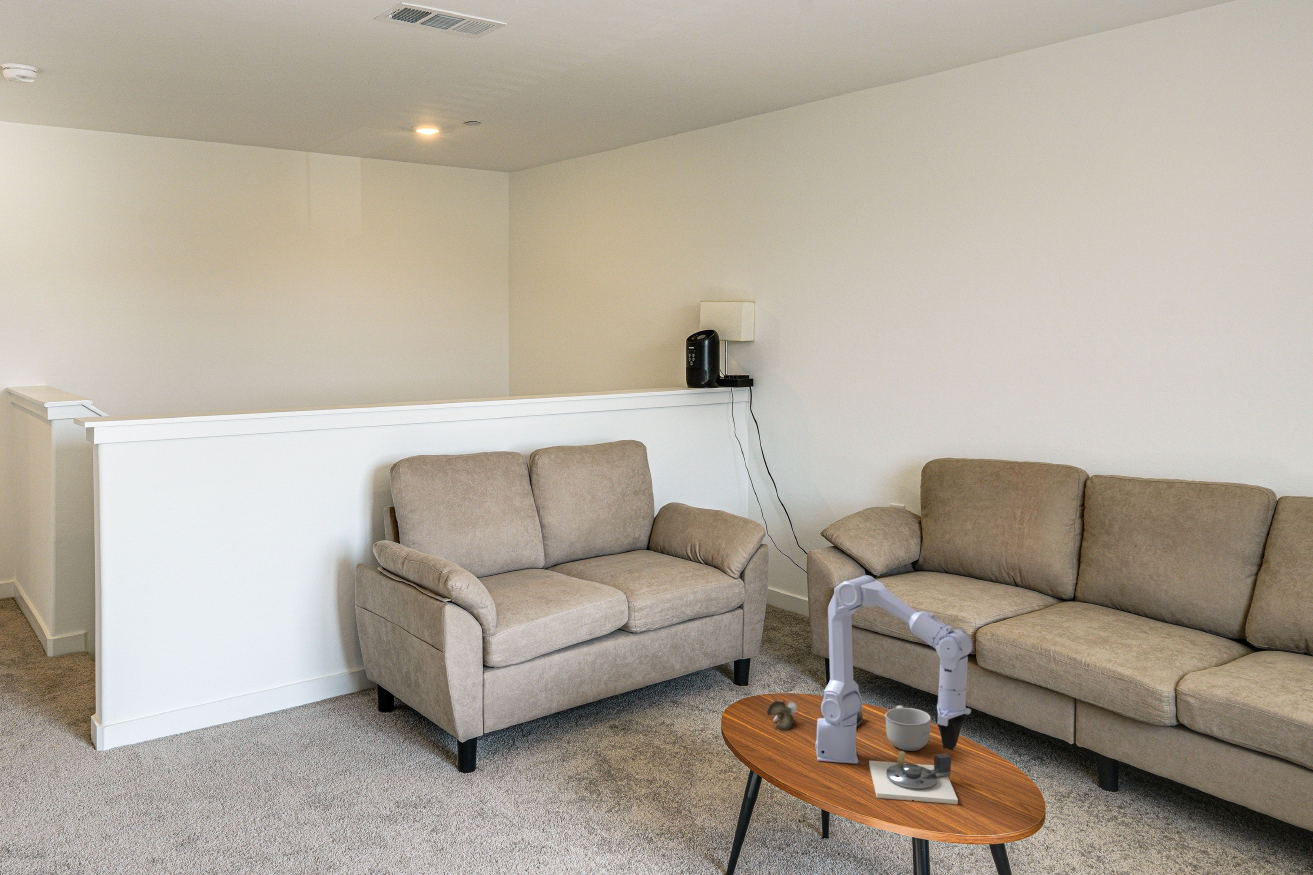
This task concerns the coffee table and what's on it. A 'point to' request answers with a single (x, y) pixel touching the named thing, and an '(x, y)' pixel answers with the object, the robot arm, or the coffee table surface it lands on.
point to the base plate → (893, 791)
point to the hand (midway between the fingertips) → (949, 747)
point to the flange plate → (913, 782)
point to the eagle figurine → (782, 714)
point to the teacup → (907, 728)
